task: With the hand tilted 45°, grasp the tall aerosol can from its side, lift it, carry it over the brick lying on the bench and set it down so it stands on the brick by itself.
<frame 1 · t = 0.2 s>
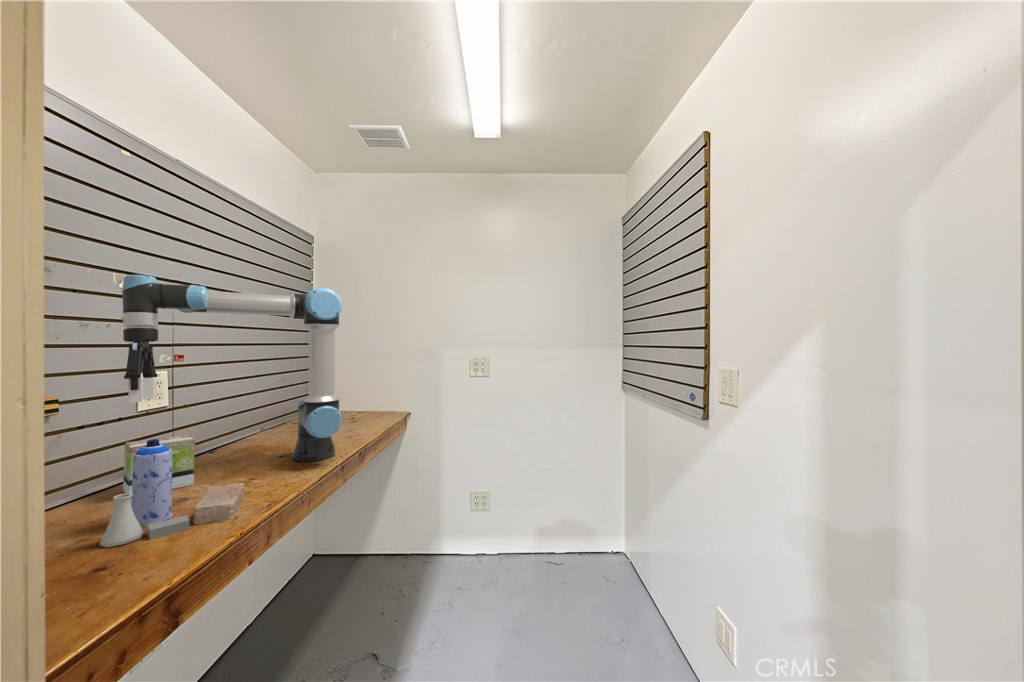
hand: (142, 400, 116), 28 cm above the workbench, tool pointing down, fingers open, 13 cm apart
aerosol can: (152, 520, 100), on the workbench
tea box: (159, 488, 122), on the workbench
flask: (122, 541, 89), on the workbench
brick: (220, 511, 106), on the workbench
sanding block: (168, 533, 93), on the workbench
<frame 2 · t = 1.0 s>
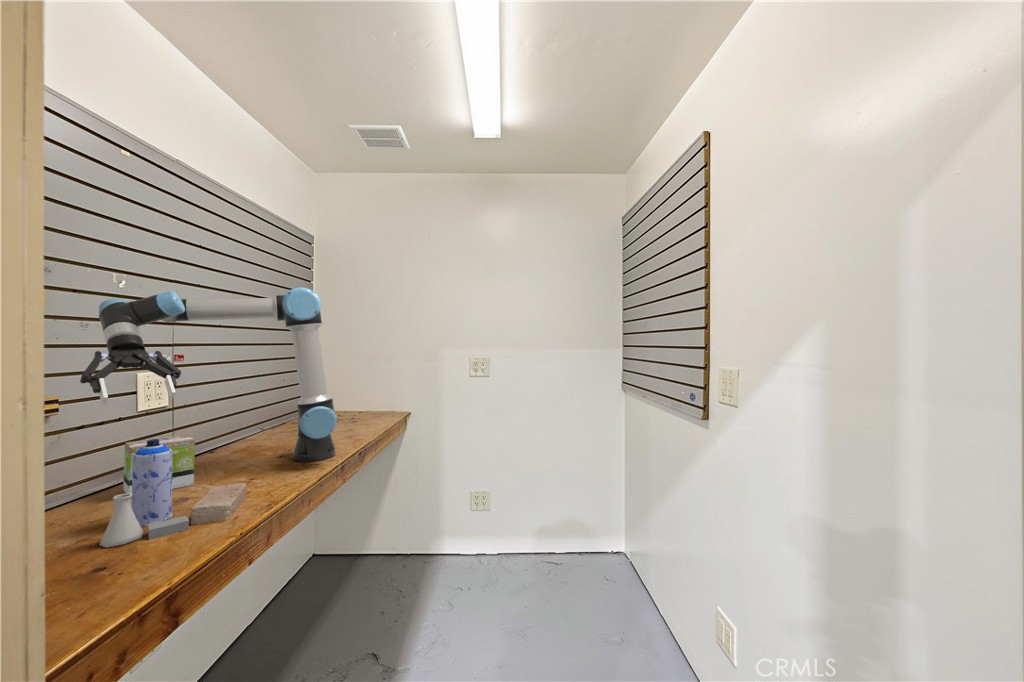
hand: (140, 398, 106), 30 cm above the workbench, tool tilted 45°, fingers open, 13 cm apart
nothing on the workbench moved.
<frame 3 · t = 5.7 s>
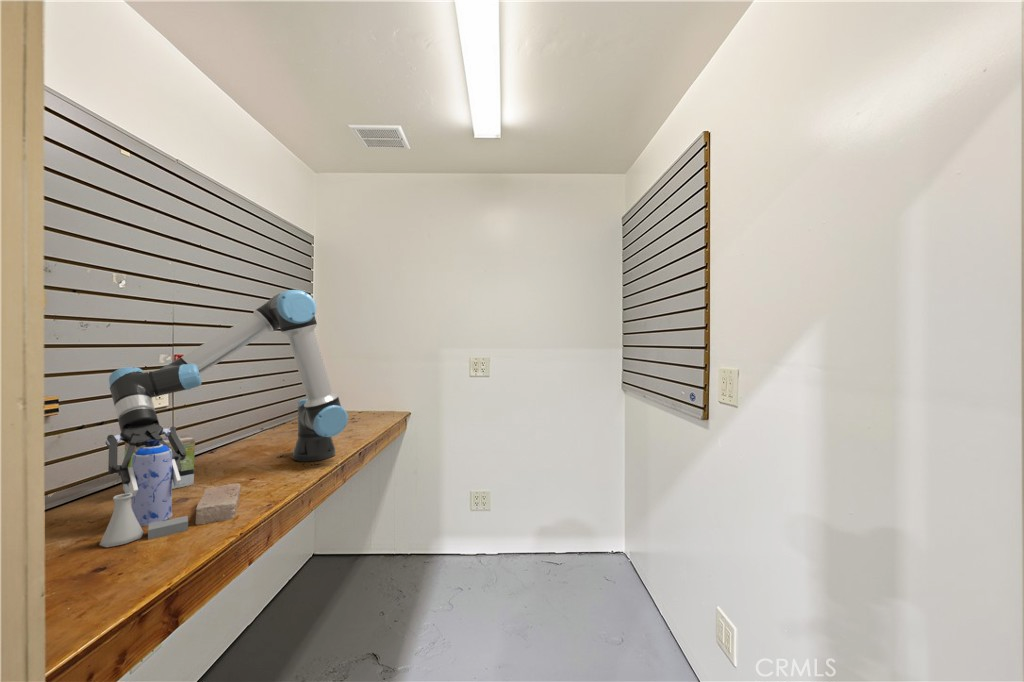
hand: (157, 488, 98), 9 cm above the workbench, tool tilted 45°, fingers closed on aerosol can, 7 cm apart
aerosol can: (151, 520, 100), on the workbench, touching gripper
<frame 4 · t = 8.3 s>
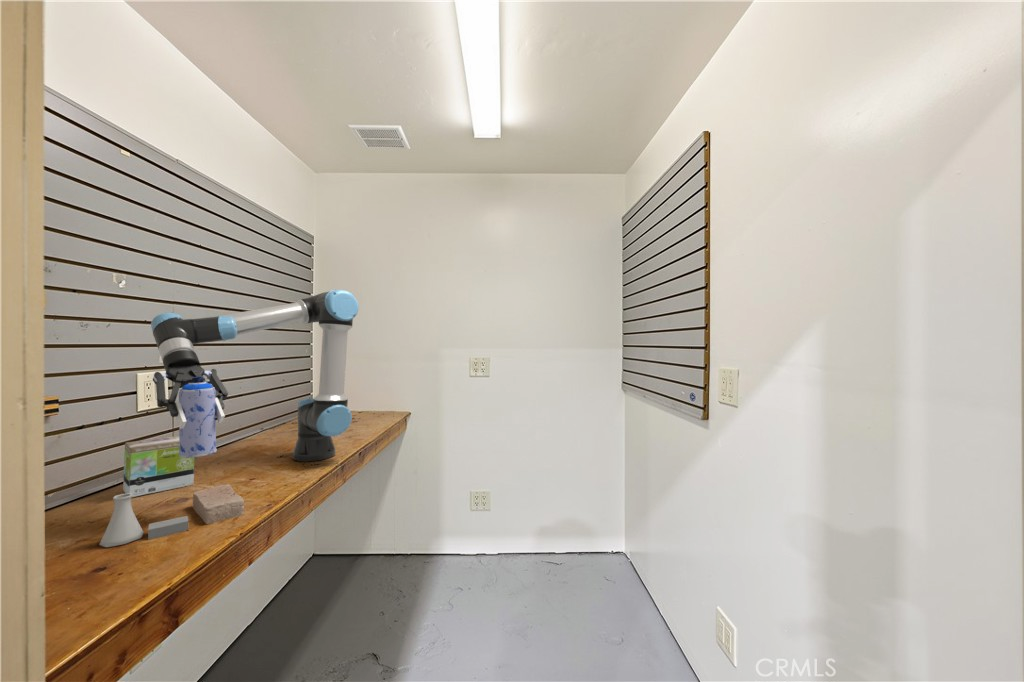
hand: (203, 422, 102), 24 cm above the workbench, tool tilted 45°, fingers closed on aerosol can, 7 cm apart
aerosol can: (198, 454, 104), point 15 cm above the workbench, touching gripper
when the fingers open (15 cm above the workbench, at t = 10.8 s): aerosol can drops 2 cm, resting on brick.
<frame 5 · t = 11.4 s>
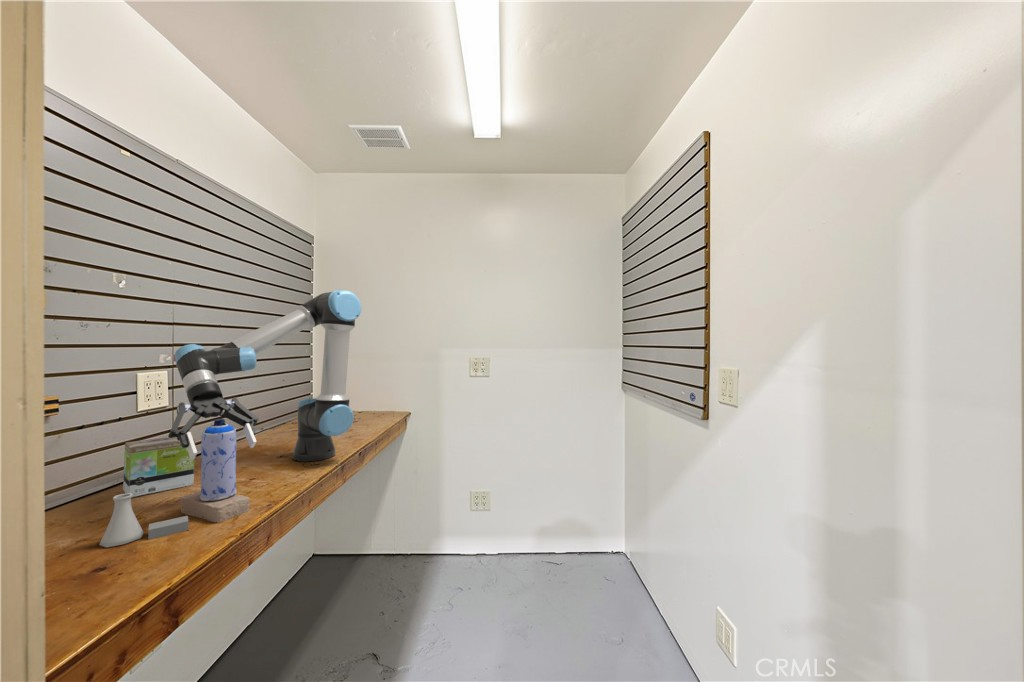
hand: (225, 450, 105), 16 cm above the workbench, tool tilted 45°, fingers open, 13 cm apart
aerosol can: (218, 495, 105), point 4 cm above the workbench, touching brick
brick: (215, 513, 105), on the workbench, touching aerosol can
everything else where it was.
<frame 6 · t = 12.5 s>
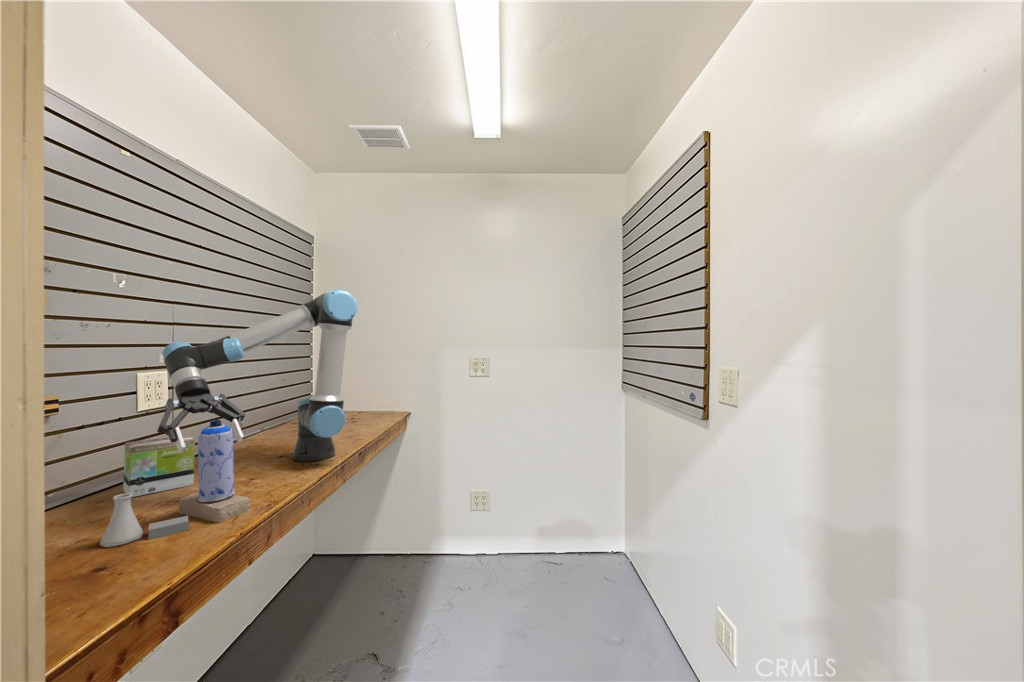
hand: (213, 444, 109), 17 cm above the workbench, tool tilted 45°, fingers open, 13 cm apart
nothing on the workbench moved.
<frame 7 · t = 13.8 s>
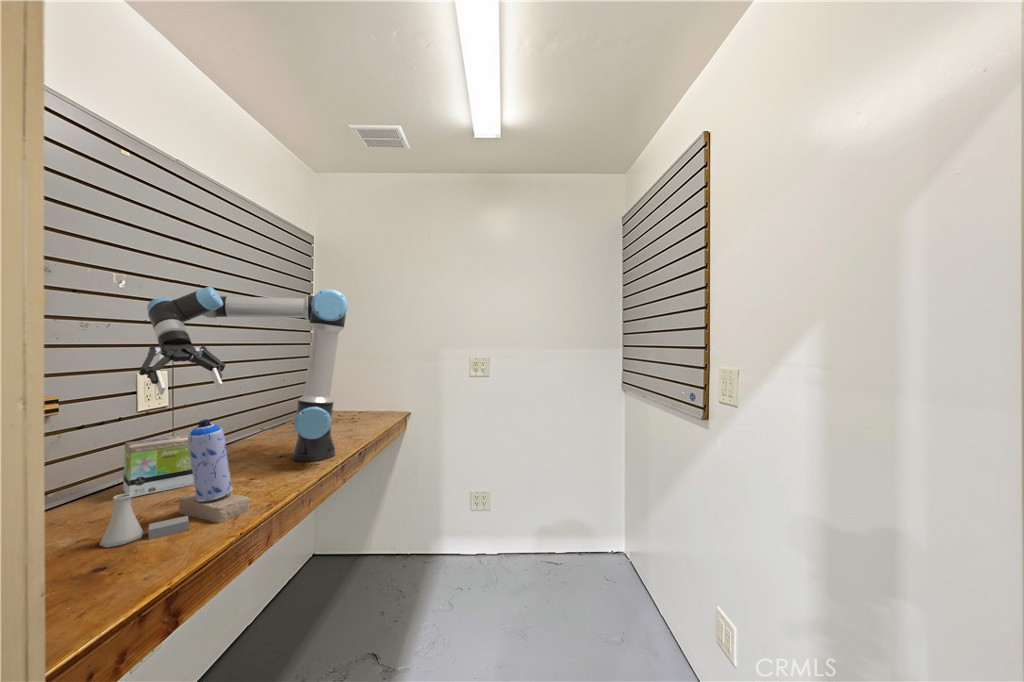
hand: (192, 388, 115), 31 cm above the workbench, tool tilted 45°, fingers open, 13 cm apart
aerosol can: (214, 494, 105), point 4 cm above the workbench
brick: (215, 514, 104), on the workbench
everything else where it was.
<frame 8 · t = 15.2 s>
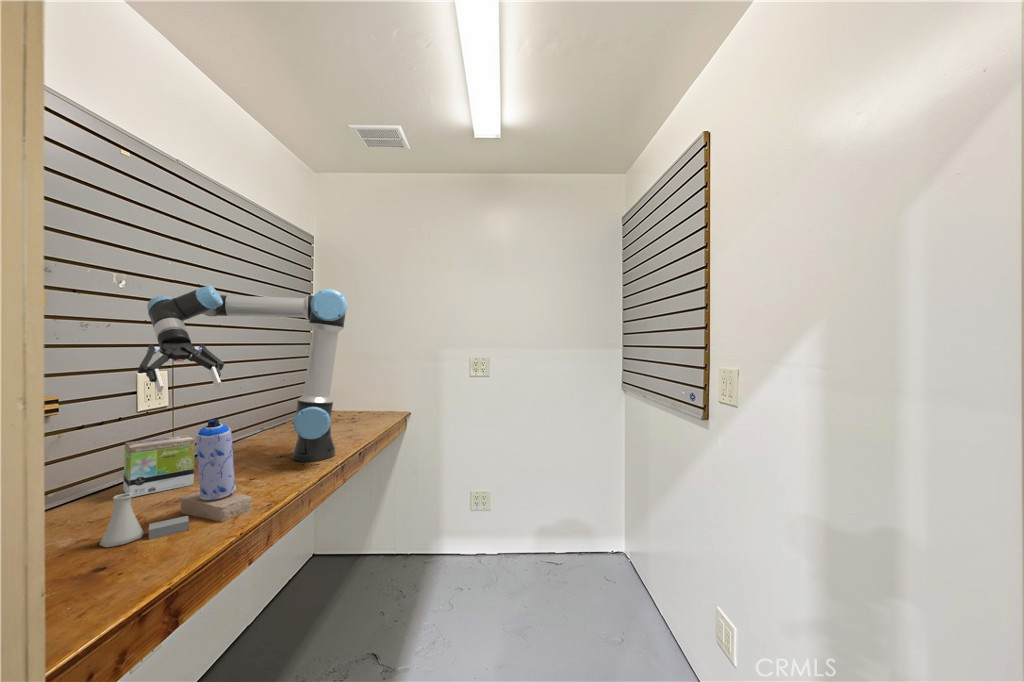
hand: (191, 387, 115), 32 cm above the workbench, tool tilted 45°, fingers open, 13 cm apart
aerosol can: (218, 492, 106), point 4 cm above the workbench, touching brick
brick: (217, 513, 105), on the workbench, touching aerosol can
everything else where it was.
at the end: aerosol can inside the target area on the brick (1.0 cm from its centre), point 5.1 cm above the brick's base; aerosol can tilted 7°; the gripper is holding nothing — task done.
